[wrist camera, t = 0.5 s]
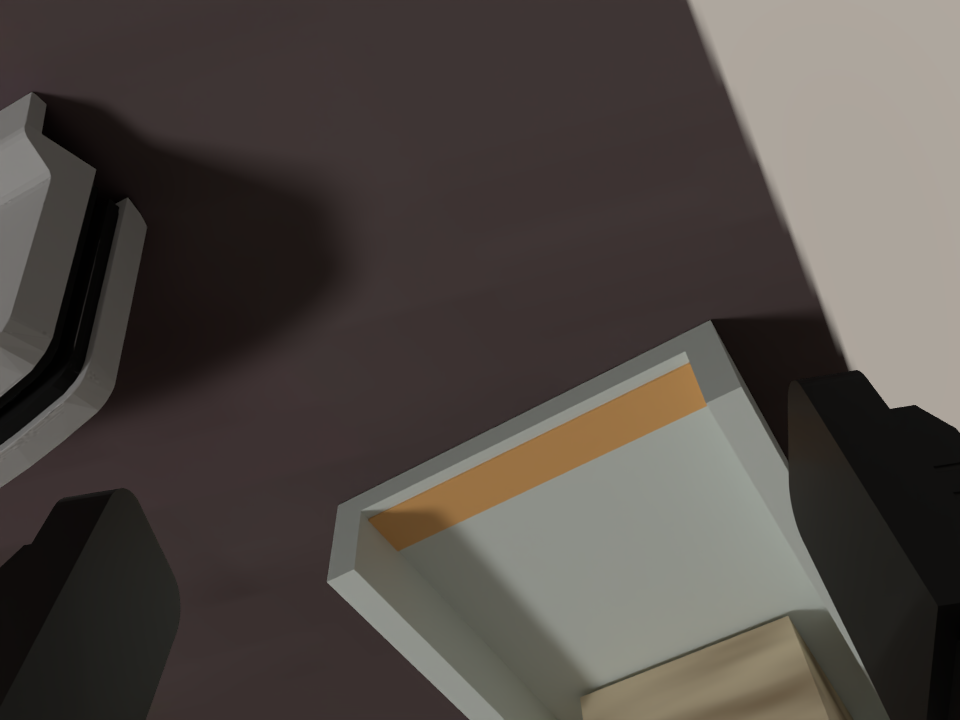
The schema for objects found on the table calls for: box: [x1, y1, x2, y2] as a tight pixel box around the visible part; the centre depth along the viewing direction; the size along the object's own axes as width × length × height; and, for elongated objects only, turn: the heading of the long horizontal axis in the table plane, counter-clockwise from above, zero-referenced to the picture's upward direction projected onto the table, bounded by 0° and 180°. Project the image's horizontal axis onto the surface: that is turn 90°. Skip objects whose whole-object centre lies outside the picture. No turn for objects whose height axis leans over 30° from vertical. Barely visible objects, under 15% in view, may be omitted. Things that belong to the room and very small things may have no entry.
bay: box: [327, 320, 890, 720], centre depth 37 cm, size 26×16×6 cm, turn 31°
